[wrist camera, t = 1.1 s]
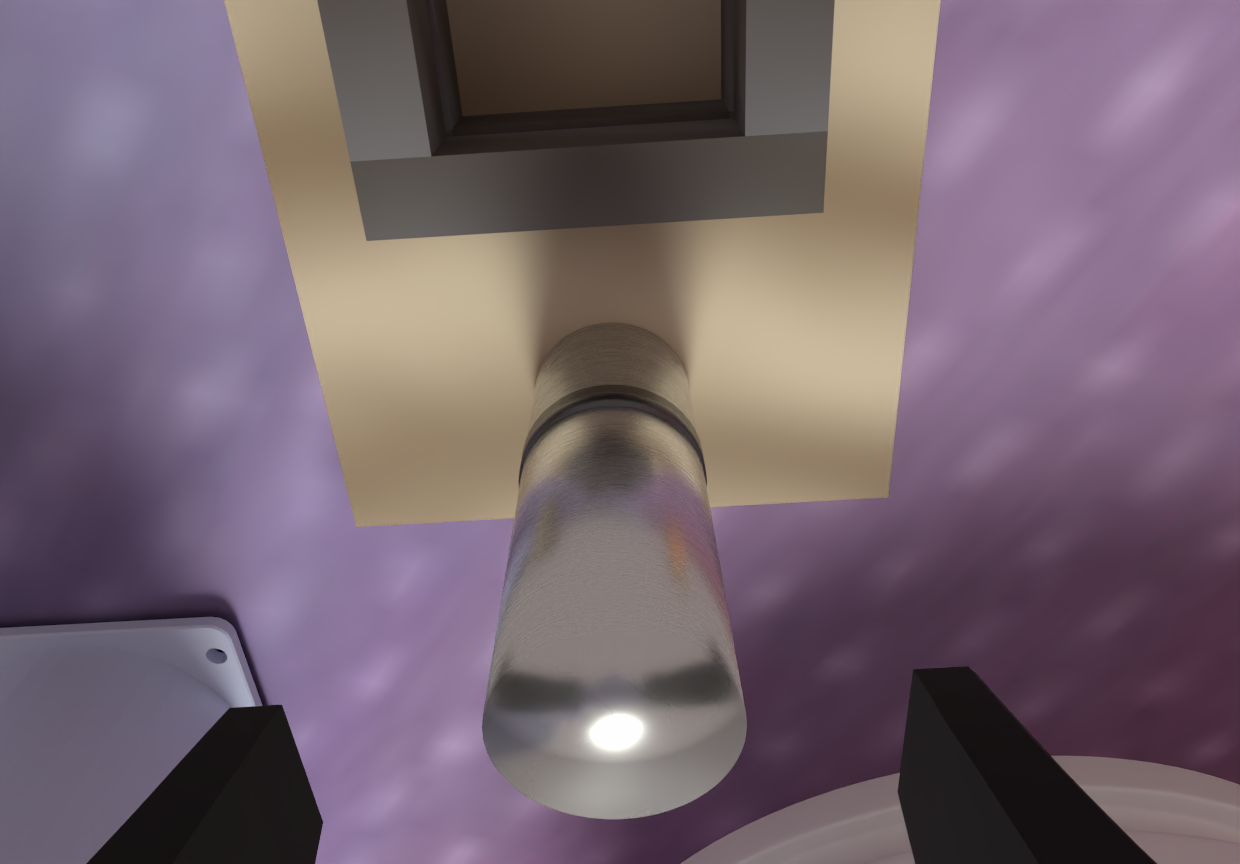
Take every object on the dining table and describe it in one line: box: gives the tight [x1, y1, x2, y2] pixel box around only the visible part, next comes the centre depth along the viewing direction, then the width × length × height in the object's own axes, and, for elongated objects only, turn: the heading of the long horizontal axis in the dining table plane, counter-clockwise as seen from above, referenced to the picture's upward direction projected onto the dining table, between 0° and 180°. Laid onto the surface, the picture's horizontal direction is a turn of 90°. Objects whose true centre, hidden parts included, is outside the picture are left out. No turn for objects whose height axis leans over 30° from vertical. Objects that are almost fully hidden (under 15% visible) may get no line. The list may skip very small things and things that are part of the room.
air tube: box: [482, 323, 747, 819], centre depth 15 cm, size 3×3×9 cm
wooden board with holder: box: [224, 0, 941, 527], centre depth 15 cm, size 15×12×4 cm
